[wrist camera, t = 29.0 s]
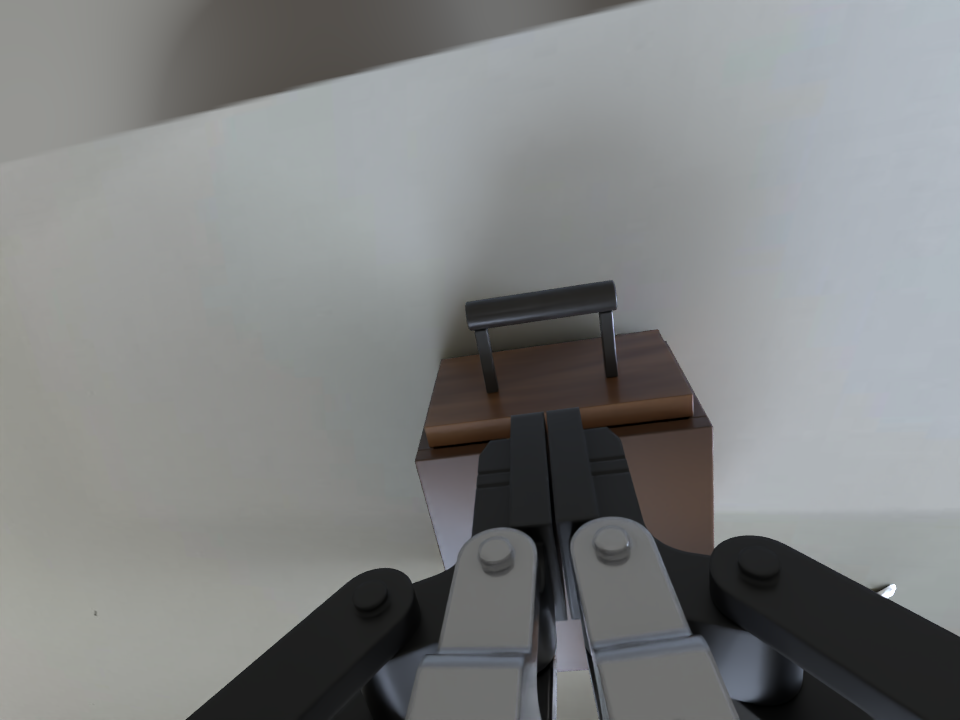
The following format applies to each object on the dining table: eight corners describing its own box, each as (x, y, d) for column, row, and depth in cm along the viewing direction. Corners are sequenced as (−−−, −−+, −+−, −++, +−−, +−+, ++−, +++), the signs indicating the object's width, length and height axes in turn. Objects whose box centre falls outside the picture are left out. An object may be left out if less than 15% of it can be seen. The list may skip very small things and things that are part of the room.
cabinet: (437, 371, 36) (414, 461, 28) (666, 340, 34) (713, 426, 26) (482, 560, 43) (474, 678, 35) (675, 542, 41) (715, 661, 33)
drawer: (422, 280, 33) (399, 334, 26) (653, 244, 31) (690, 292, 24) (484, 544, 41) (478, 636, 34) (668, 526, 39) (699, 619, 33)
